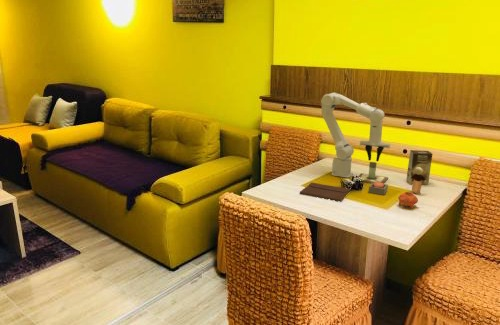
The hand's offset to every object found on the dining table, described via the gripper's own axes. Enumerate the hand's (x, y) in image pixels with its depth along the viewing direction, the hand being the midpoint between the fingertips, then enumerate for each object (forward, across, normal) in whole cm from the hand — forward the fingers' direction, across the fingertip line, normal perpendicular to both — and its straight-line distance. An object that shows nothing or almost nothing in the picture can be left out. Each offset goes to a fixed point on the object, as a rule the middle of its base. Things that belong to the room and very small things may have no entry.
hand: (373, 160), depth 206 cm
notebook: (+11, -14, -30) cm, 35 cm away
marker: (+9, 0, 0) cm, 9 cm away
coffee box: (+11, +21, +7) cm, 24 cm away
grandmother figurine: (+11, +23, -9) cm, 27 cm away
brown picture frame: (+10, 0, 0) cm, 10 cm away
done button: (+9, +7, -16) cm, 20 cm away
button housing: (+10, +7, -16) cm, 20 cm away
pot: (+11, +22, -28) cm, 37 cm away
